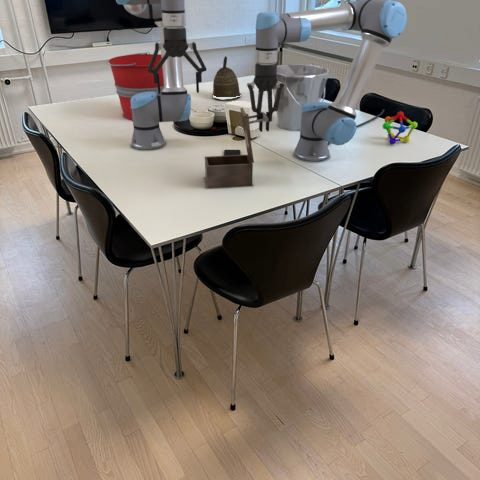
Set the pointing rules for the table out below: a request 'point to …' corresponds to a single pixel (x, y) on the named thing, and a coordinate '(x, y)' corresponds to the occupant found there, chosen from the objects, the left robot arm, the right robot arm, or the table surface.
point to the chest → (228, 171)
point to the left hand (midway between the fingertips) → (178, 92)
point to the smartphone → (231, 152)
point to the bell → (225, 82)
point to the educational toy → (398, 128)
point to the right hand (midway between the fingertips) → (264, 130)
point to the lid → (246, 130)
